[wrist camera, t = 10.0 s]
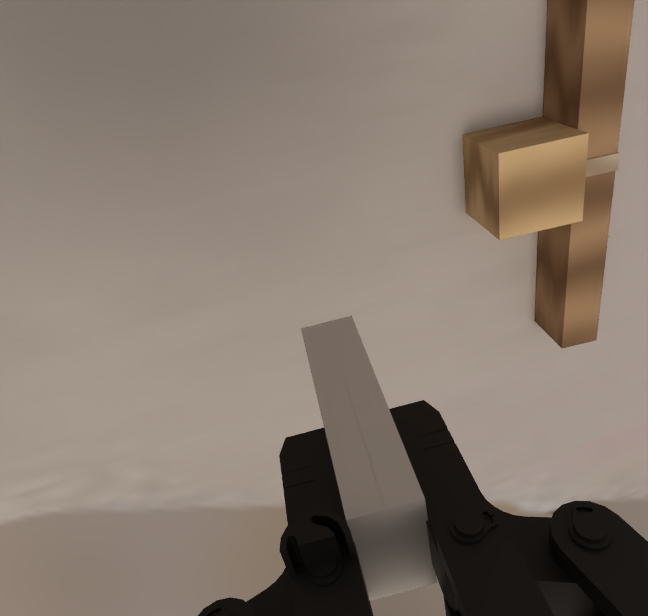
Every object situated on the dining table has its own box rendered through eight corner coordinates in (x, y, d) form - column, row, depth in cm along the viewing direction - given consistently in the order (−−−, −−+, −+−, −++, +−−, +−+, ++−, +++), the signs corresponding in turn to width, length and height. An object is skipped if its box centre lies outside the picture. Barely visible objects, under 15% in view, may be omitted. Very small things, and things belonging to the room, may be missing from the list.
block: (462, 134, 39) (498, 153, 34) (540, 116, 39) (588, 133, 34) (465, 211, 42) (499, 240, 37) (538, 195, 42) (582, 220, 37)
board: (547, -13, 35) (589, -15, 31) (592, -22, 35) (639, -26, 31) (534, 321, 48) (562, 349, 44) (566, 313, 48) (598, 340, 44)
